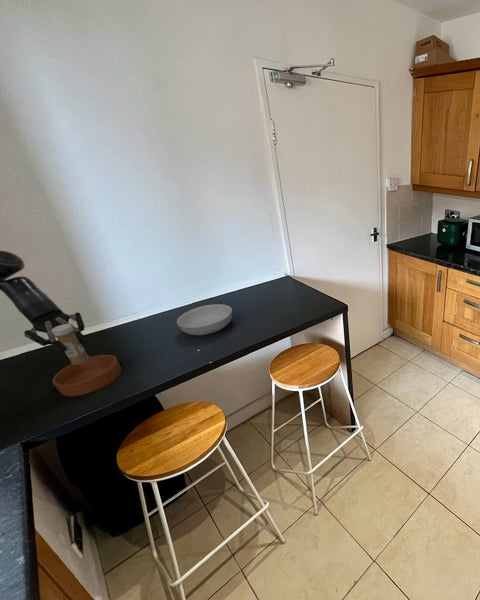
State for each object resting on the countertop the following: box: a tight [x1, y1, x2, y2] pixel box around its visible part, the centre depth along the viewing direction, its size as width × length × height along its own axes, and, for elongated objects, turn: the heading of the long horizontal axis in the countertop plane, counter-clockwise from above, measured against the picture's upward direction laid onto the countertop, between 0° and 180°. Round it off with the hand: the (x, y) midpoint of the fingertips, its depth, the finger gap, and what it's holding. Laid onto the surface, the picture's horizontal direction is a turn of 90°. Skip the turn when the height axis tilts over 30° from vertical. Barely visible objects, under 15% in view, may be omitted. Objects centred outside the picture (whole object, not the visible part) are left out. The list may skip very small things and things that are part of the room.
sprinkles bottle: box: [52, 323, 90, 365], centre depth 102 cm, size 5×5×13 cm
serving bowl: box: [176, 303, 233, 336], centre depth 136 cm, size 21×21×7 cm
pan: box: [52, 354, 123, 397], centre depth 107 cm, size 16×16×4 cm
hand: (74, 346), depth 101 cm, fingers closed on sprinkles bottle, 4 cm apart
